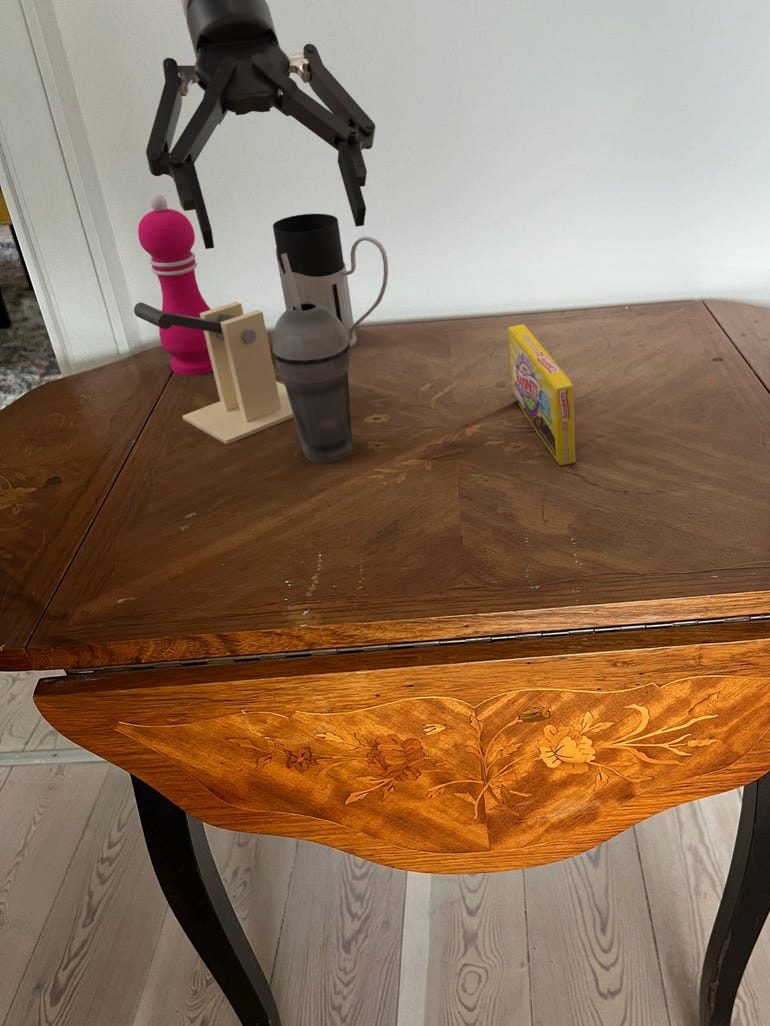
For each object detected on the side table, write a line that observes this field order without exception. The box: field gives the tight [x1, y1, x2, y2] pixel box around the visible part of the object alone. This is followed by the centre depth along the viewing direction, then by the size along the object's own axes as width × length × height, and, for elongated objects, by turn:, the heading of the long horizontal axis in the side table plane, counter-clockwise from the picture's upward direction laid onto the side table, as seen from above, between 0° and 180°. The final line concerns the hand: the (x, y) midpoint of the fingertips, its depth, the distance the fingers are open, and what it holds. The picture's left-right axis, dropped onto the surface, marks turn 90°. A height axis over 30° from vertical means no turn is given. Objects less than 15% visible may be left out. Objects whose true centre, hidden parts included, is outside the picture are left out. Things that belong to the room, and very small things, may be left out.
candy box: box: [508, 324, 576, 466], centre depth 96 cm, size 16×2×8 cm, turn 14°
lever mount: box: [181, 301, 294, 445], centre depth 100 cm, size 12×9×12 cm
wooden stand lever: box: [133, 302, 235, 341], centre depth 95 cm, size 11×5×2 cm, turn 134°
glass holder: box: [272, 213, 389, 348], centre depth 113 cm, size 9×14×15 cm, turn 70°
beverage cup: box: [271, 253, 353, 464], centre depth 89 cm, size 7×7×20 cm
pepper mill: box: [137, 194, 213, 376], centre depth 109 cm, size 7×7×20 cm
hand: (286, 229), depth 84 cm, fingers open, 13 cm apart
